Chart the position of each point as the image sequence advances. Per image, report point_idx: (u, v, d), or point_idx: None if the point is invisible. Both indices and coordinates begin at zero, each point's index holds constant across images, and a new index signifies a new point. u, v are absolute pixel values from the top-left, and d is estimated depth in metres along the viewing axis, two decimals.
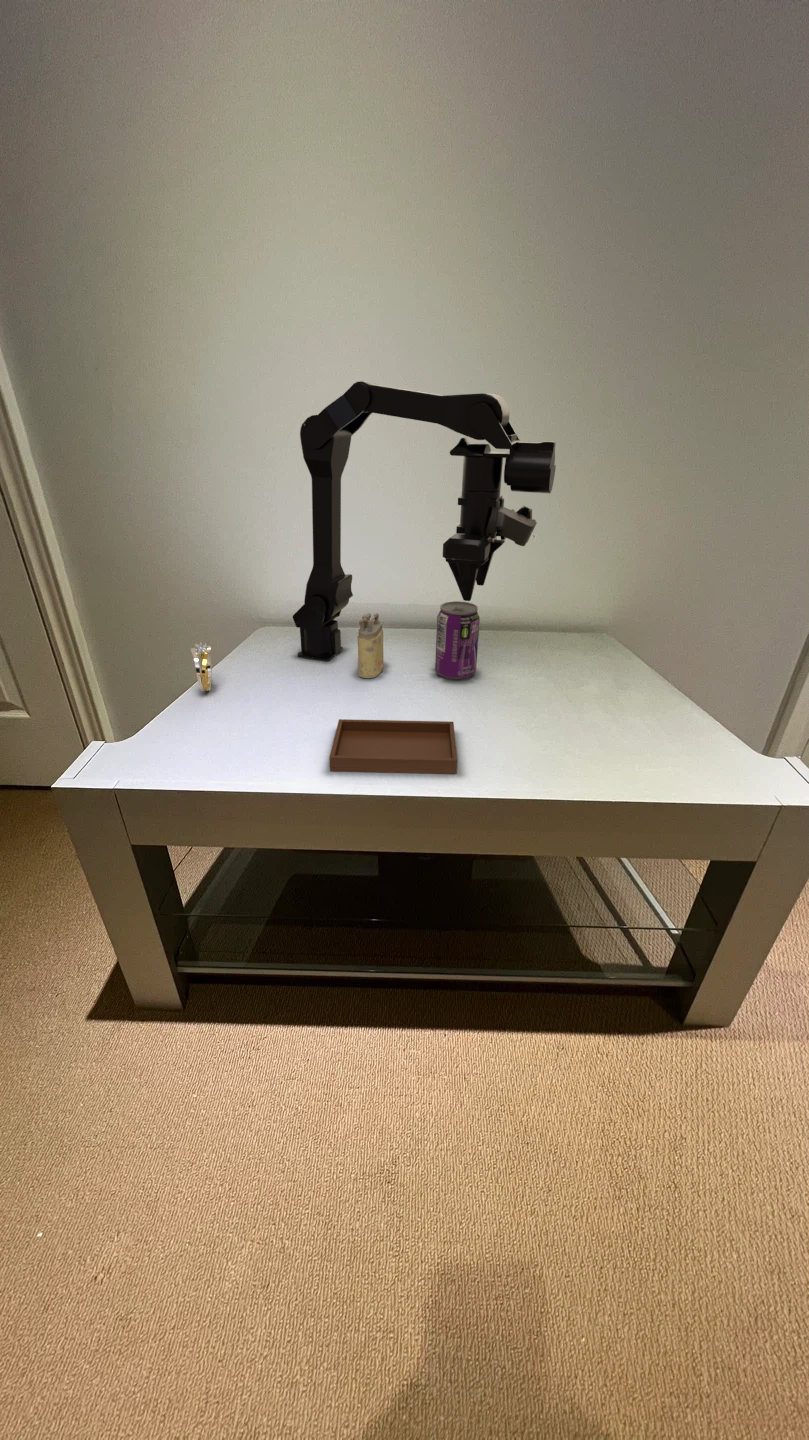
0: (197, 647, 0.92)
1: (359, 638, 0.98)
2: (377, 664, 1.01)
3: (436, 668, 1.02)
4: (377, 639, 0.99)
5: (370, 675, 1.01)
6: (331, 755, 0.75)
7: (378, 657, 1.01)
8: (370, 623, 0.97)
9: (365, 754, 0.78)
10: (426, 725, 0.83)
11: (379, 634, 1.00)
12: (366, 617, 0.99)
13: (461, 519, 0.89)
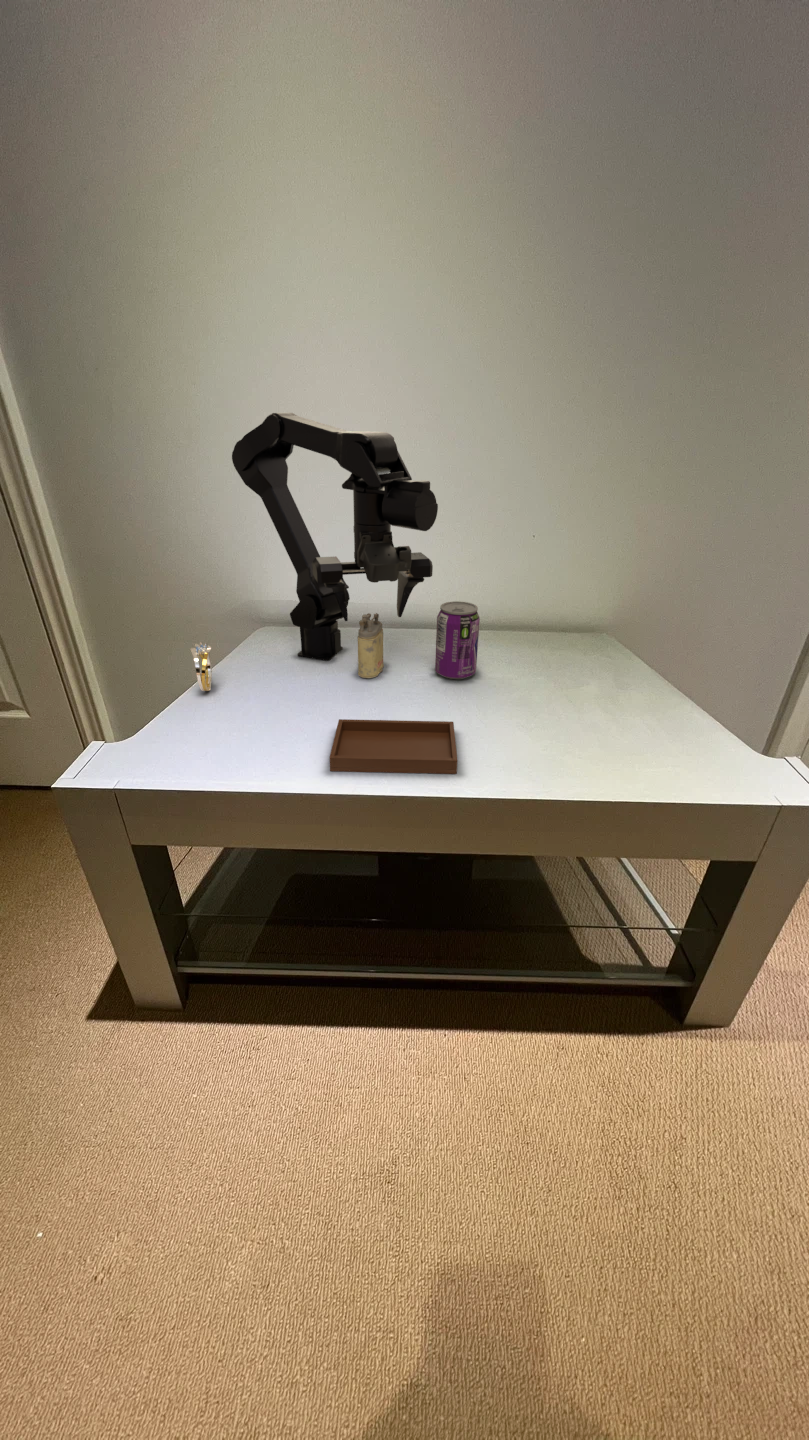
0: (197, 647, 0.92)
1: (359, 638, 0.98)
2: (377, 664, 1.01)
3: (436, 668, 1.02)
4: (377, 639, 0.99)
5: (370, 675, 1.01)
6: (331, 755, 0.75)
7: (378, 657, 1.01)
8: (370, 623, 0.97)
9: (365, 754, 0.78)
10: (426, 725, 0.83)
11: (379, 634, 1.00)
12: (366, 617, 0.99)
13: None
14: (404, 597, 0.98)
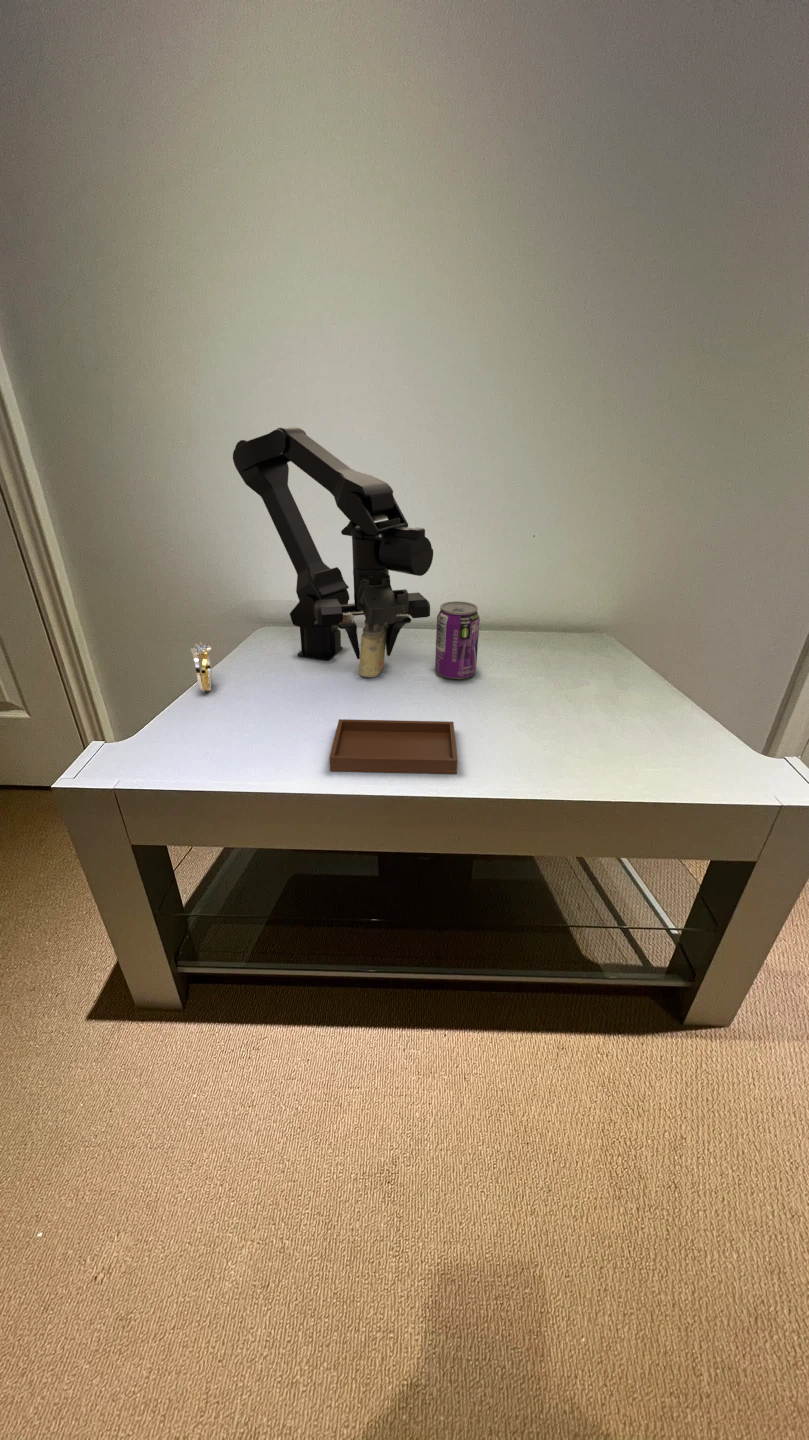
0: (197, 647, 0.92)
1: (363, 636, 0.98)
2: (378, 664, 1.01)
3: (436, 668, 1.02)
4: (381, 639, 0.99)
5: (370, 674, 1.01)
6: (331, 755, 0.75)
7: (380, 657, 1.01)
8: None
9: (365, 754, 0.78)
10: (426, 725, 0.83)
11: (383, 634, 1.00)
12: None
13: None
14: (392, 637, 1.00)
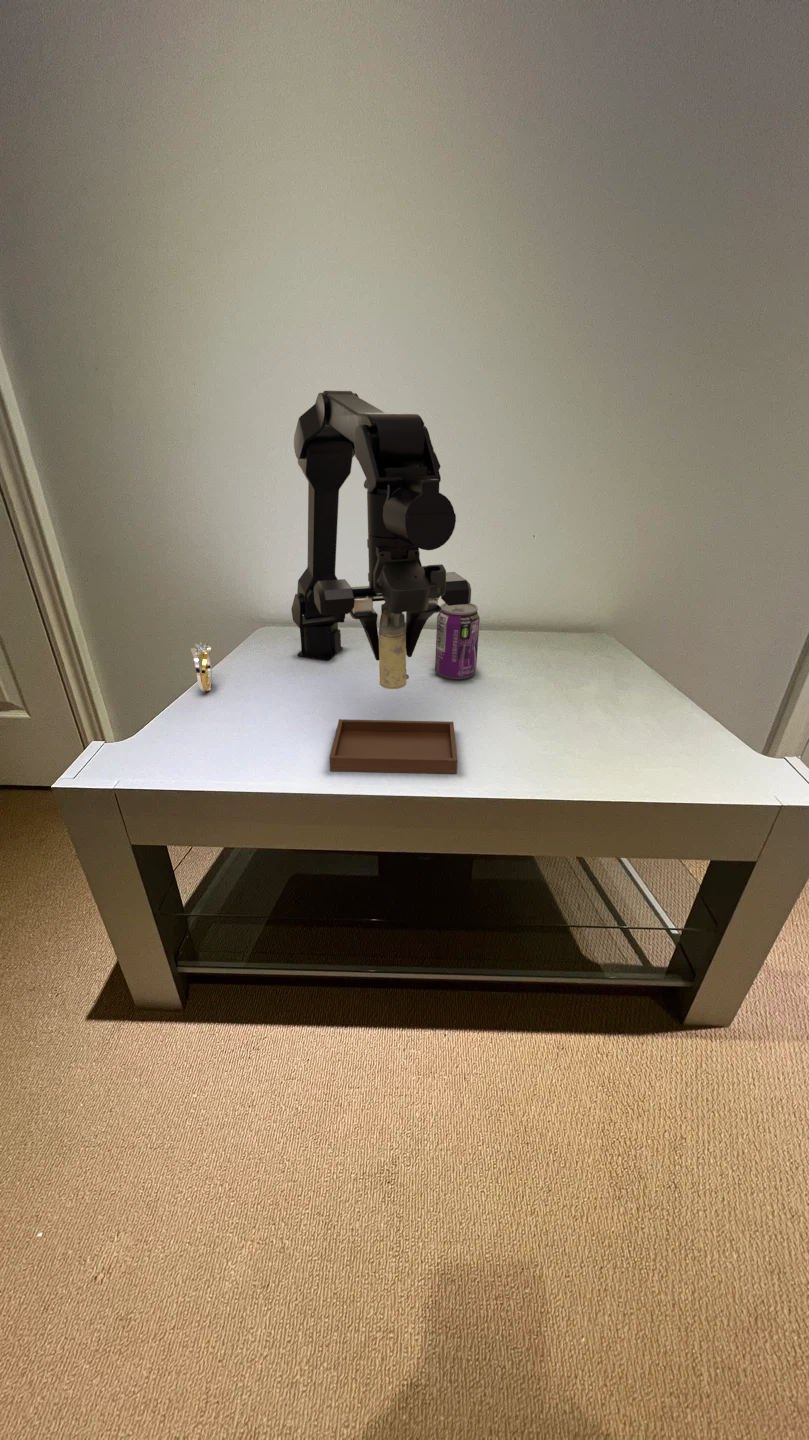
0: (197, 647, 0.92)
1: (383, 637, 0.72)
2: (405, 669, 0.76)
3: (436, 668, 1.02)
4: (405, 636, 0.73)
5: (399, 685, 0.75)
6: (331, 755, 0.75)
7: None
8: (397, 615, 0.71)
9: (365, 754, 0.78)
10: (426, 725, 0.83)
11: (405, 629, 0.75)
12: None
13: None
14: (415, 632, 0.75)
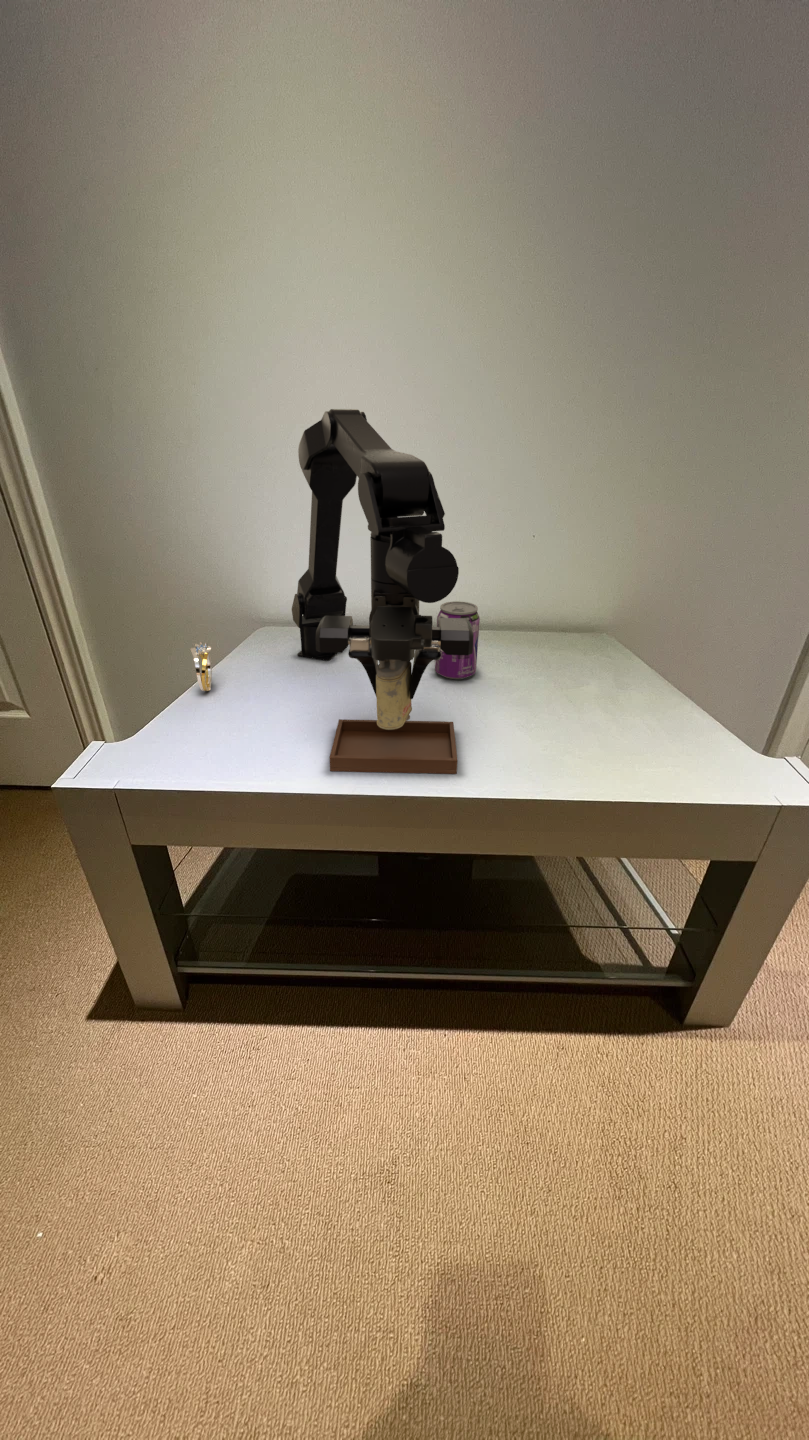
0: (197, 647, 0.92)
1: (378, 678, 0.72)
2: (402, 711, 0.75)
3: (436, 668, 1.02)
4: (402, 679, 0.73)
5: (392, 726, 0.75)
6: (331, 755, 0.75)
7: (404, 701, 0.75)
8: None
9: (365, 754, 0.78)
10: (426, 725, 0.83)
11: (405, 671, 0.74)
12: None
13: None
14: (415, 676, 0.74)
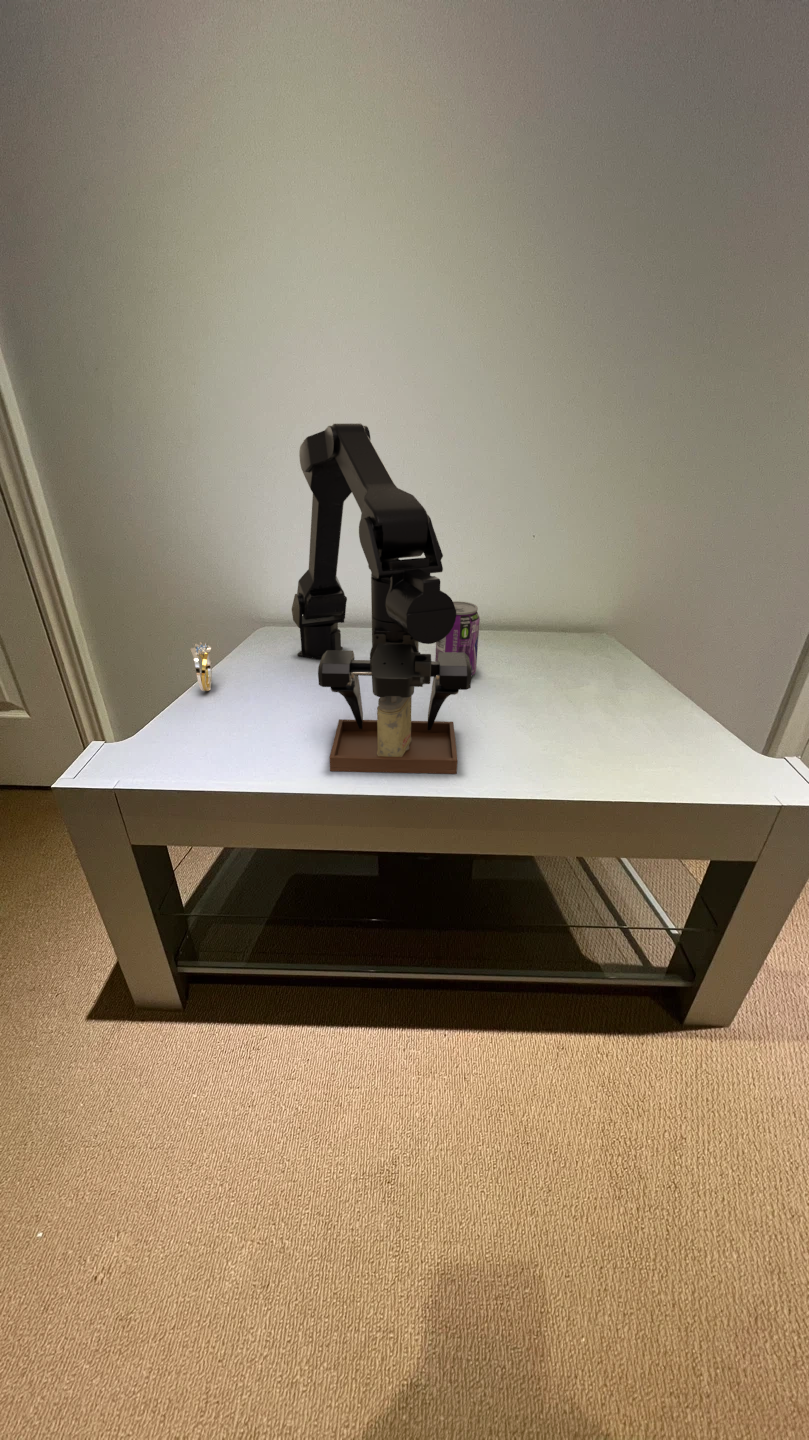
0: (197, 647, 0.92)
1: (379, 710, 0.74)
2: (402, 742, 0.77)
3: None
4: (403, 712, 0.75)
5: None
6: (331, 755, 0.75)
7: (404, 733, 0.77)
8: None
9: (365, 754, 0.78)
10: (426, 725, 0.83)
11: (406, 704, 0.76)
12: None
13: None
14: (433, 708, 0.76)
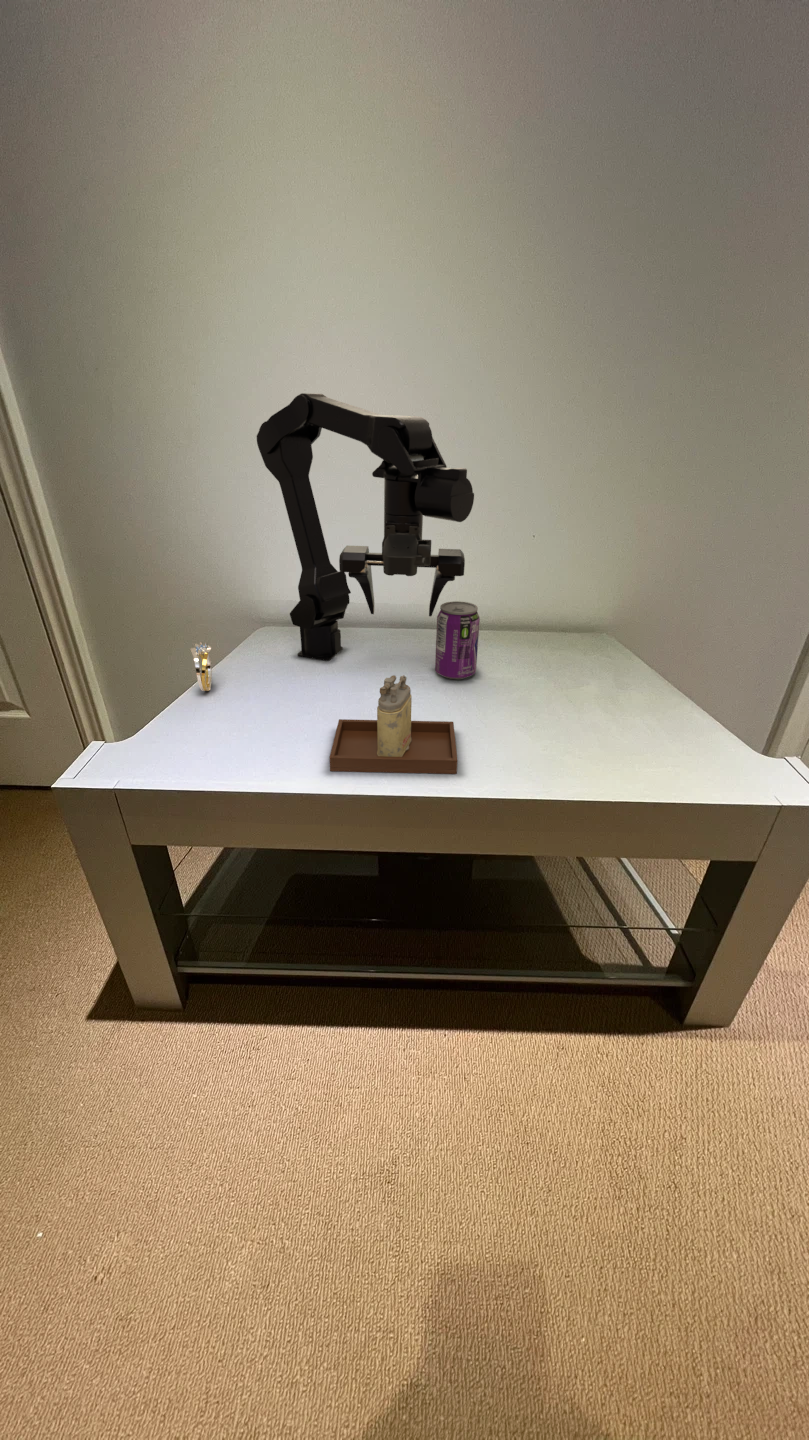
0: (197, 647, 0.92)
1: (379, 710, 0.74)
2: (402, 742, 0.77)
3: (436, 668, 1.02)
4: (403, 712, 0.75)
5: None
6: (331, 755, 0.75)
7: (404, 733, 0.77)
8: (394, 692, 0.73)
9: (365, 754, 0.78)
10: (426, 725, 0.83)
11: (406, 704, 0.76)
12: (389, 682, 0.75)
13: None
14: (434, 595, 0.92)
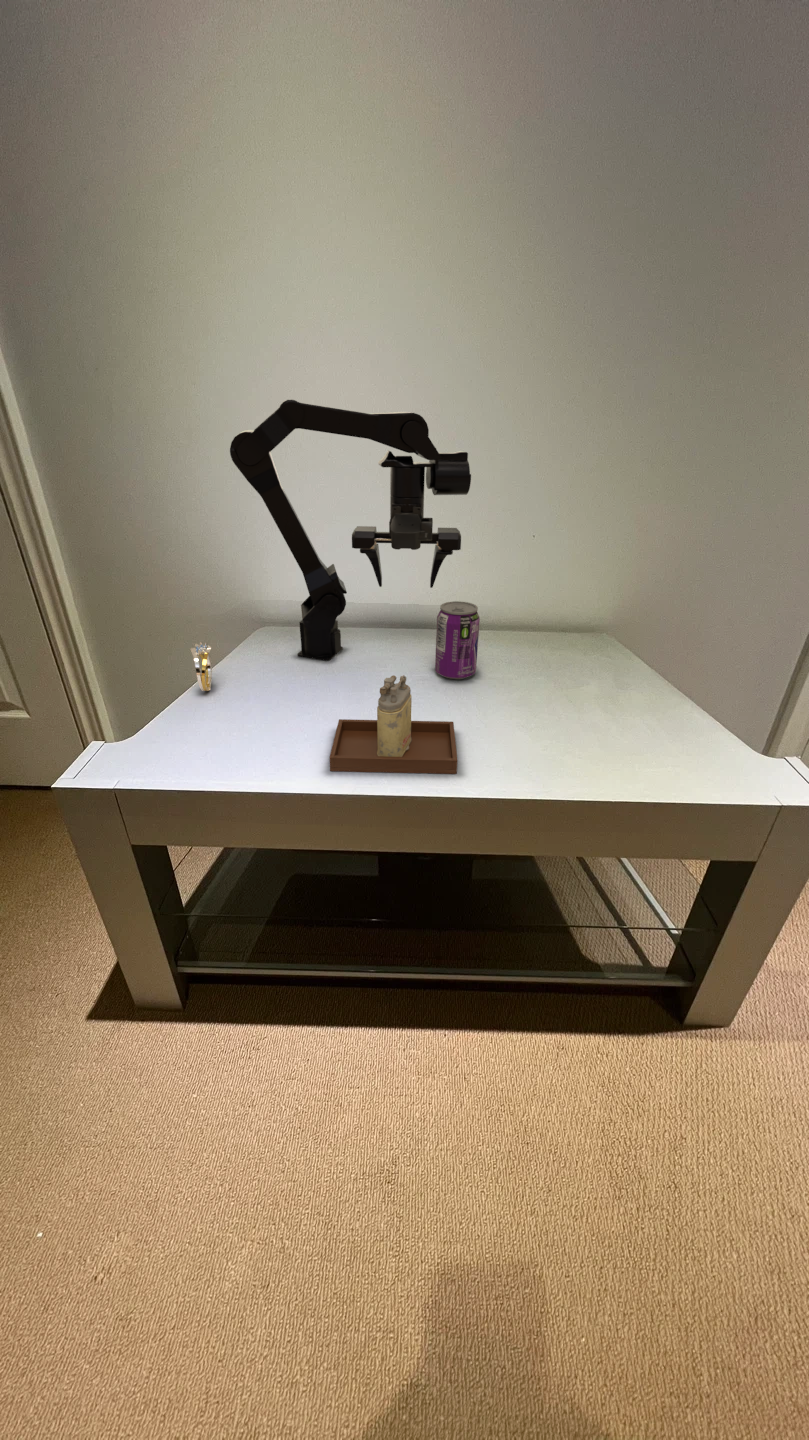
0: (197, 647, 0.92)
1: (379, 710, 0.74)
2: (402, 742, 0.77)
3: (436, 668, 1.02)
4: (403, 712, 0.75)
5: None
6: (331, 755, 0.75)
7: (404, 733, 0.77)
8: (394, 692, 0.73)
9: (365, 754, 0.78)
10: (426, 725, 0.83)
11: (406, 704, 0.76)
12: (389, 682, 0.75)
13: None
14: (434, 568, 1.05)
